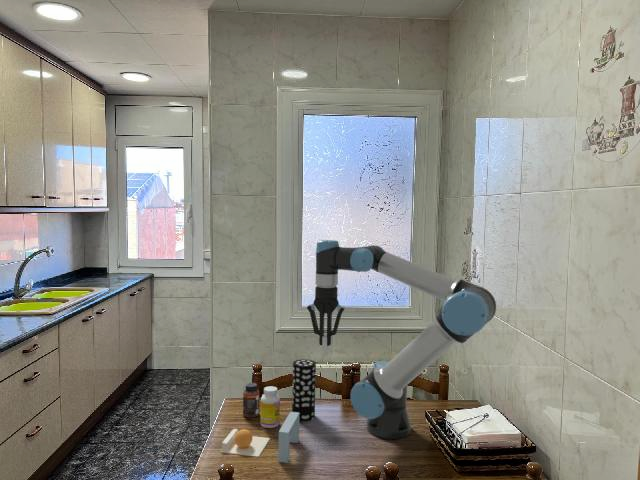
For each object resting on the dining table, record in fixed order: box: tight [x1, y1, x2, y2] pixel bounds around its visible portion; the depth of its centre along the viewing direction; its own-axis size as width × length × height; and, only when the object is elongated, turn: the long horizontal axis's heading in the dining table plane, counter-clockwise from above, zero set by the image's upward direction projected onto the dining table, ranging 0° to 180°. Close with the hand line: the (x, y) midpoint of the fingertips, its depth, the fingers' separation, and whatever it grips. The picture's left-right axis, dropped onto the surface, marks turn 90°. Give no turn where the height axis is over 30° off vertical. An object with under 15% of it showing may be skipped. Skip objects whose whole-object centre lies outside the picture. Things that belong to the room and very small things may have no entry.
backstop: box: [221, 428, 239, 451], centre depth 151 cm, size 2×10×2 cm, turn 170°
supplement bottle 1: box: [242, 382, 260, 419], centre depth 173 cm, size 6×6×11 cm
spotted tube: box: [291, 358, 317, 422], centre depth 172 cm, size 8×8×20 cm
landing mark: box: [220, 435, 271, 458], centre depth 151 cm, size 12×12×1 cm
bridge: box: [277, 411, 300, 463], centre depth 148 cm, size 3×14×9 cm, turn 169°
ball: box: [235, 428, 253, 448], centre depth 149 cm, size 6×6×6 cm
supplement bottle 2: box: [259, 385, 281, 429], centre depth 165 cm, size 7×7×13 cm
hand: (324, 354), depth 161 cm, fingers closed
